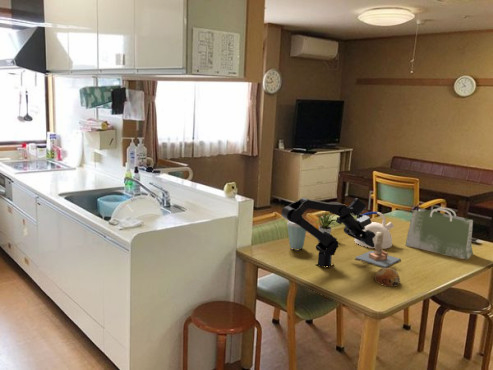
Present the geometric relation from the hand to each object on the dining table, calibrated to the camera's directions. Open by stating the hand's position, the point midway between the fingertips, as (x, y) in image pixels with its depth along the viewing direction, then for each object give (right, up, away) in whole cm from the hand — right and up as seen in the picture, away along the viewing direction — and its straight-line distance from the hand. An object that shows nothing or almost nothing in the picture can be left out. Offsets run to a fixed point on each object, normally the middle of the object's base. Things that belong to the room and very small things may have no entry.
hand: (368, 243), depth 214 cm
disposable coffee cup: (-33, -5, +16) cm, 37 cm away
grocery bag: (+44, -7, +24) cm, 50 cm away
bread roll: (+2, -14, -24) cm, 28 cm away
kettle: (+11, -4, +30) cm, 33 cm away
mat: (+6, -8, +4) cm, 11 cm away
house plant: (-16, -2, +35) cm, 39 cm away
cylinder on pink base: (+6, -8, +4) cm, 10 cm away
